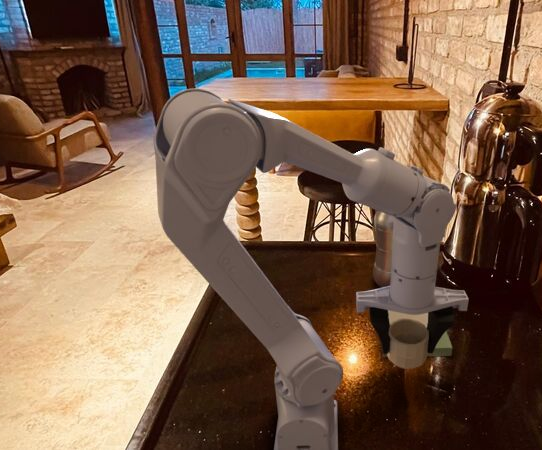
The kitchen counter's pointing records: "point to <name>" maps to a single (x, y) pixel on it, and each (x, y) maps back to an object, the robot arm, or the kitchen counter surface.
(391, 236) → the metal water bottle
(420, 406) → the kitchen counter surface
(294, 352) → the robot arm
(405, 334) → the dip bowl
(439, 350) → the scale
